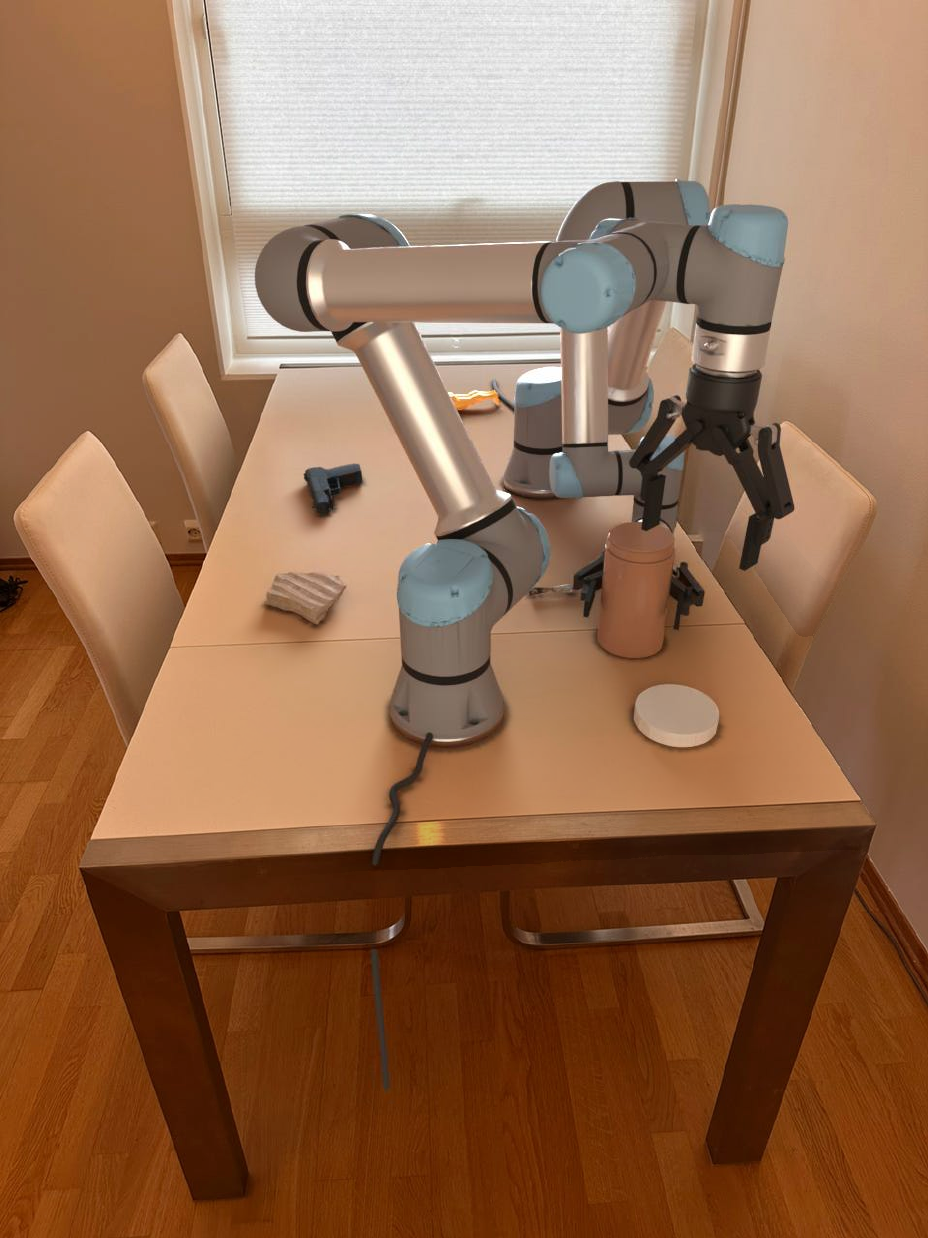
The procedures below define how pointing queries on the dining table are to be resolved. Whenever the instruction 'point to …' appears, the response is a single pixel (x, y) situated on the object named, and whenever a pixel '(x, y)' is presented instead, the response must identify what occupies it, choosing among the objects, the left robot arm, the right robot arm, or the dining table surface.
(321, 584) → the stone
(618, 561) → the jar
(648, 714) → the lid
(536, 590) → the putty knife
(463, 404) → the human figure
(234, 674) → the dining table surface
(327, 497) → the handgun
